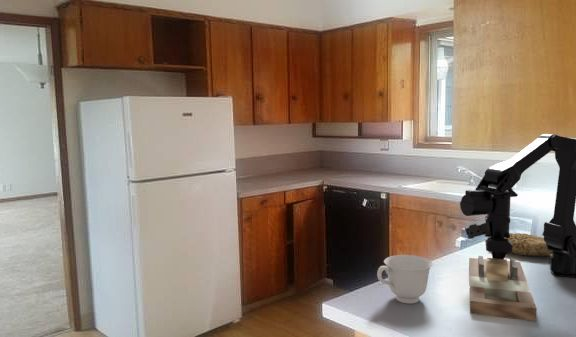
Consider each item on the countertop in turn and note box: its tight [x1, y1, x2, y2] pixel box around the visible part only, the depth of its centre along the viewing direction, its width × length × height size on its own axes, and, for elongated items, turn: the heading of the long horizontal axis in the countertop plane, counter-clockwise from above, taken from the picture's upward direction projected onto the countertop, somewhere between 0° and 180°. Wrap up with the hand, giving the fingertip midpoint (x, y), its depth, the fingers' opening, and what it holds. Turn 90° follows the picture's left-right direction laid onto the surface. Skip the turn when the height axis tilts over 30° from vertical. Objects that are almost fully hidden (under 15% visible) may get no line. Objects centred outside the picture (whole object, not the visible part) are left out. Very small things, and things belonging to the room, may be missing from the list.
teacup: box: [376, 254, 434, 305], centre depth 120 cm, size 12×15×10 cm
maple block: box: [486, 257, 508, 282], centre depth 126 cm, size 5×5×4 cm
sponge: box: [486, 232, 552, 257], centre depth 157 cm, size 13×8×20 cm
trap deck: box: [468, 255, 537, 322], centre depth 125 cm, size 14×35×6 cm, turn 159°
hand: (496, 268), depth 130 cm, fingers closed
